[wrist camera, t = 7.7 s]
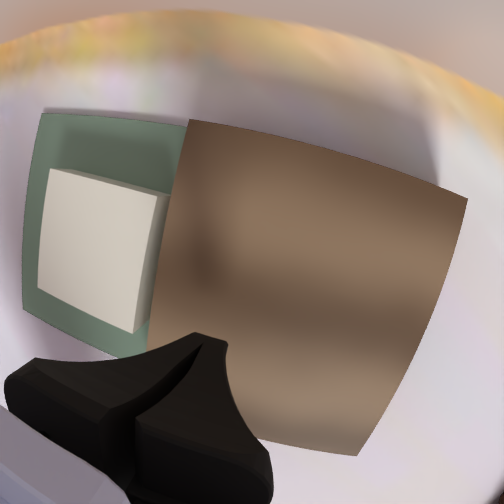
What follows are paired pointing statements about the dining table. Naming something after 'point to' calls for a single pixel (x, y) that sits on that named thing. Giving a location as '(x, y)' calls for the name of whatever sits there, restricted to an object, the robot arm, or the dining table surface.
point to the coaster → (101, 245)
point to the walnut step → (302, 278)
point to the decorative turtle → (501, 499)
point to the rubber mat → (105, 165)
